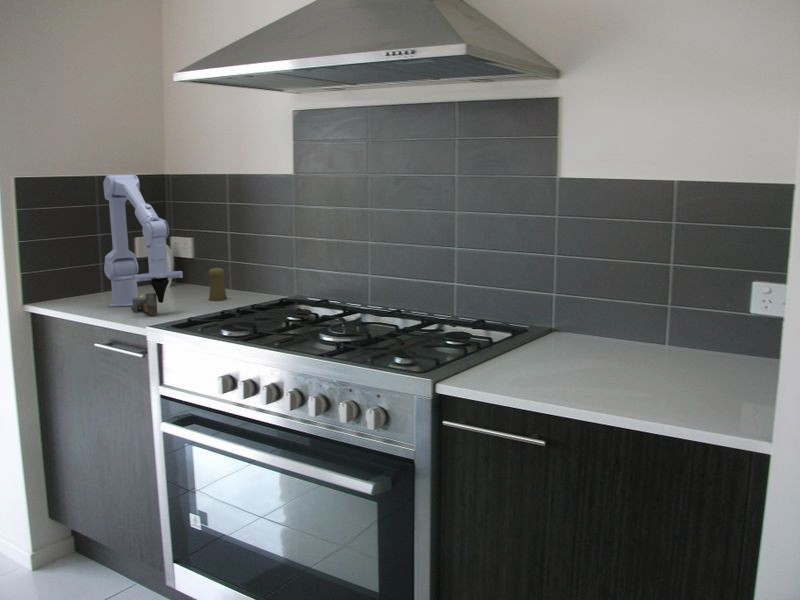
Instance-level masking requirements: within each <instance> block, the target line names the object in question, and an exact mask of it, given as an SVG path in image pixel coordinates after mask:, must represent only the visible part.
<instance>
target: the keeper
mask: <svg viewBox="0 0 800 600" xmlns="http://www.w3.org/2000/svg"><path fill="white" fill-rule="evenodd" d="M132 301H133V310H132V313H133V314H135V313H138V311H137V303H140V302H146V297H145V298H139V297H138V298H132Z"/></svg>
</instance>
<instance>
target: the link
mask: <svg viewBox="0 0 800 600" xmlns="http://www.w3.org/2000/svg"><path fill="white" fill-rule="evenodd" d="M144 296H145V298H146V302H140V303H137V307H138V308H141V309H143V311H144V312H146V313H147V314H149V315H156V314H158V304H157V303H158V299H157V295H156V293H153V292H152V293H150V292H149V293H146V294H145V295H144Z"/></svg>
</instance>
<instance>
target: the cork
mask: <svg viewBox="0 0 800 600" xmlns="http://www.w3.org/2000/svg"><path fill="white" fill-rule="evenodd" d="M208 276H209V278H210V282H209V295H208V296H209V298H208V300H209V301H211V302H223V301H226V300H227V299H228V298H227V293H226V286H225V282H224V281H225V280H224V276H225V270H224V269H223V268H221V267H214V268H210V269H209V270H208Z"/></svg>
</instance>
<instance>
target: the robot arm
mask: <svg viewBox="0 0 800 600" xmlns="http://www.w3.org/2000/svg"><path fill="white" fill-rule="evenodd" d="M140 187H141V186H140V179H139V177H138V176H137V174H135V173H132V174H107V175H106V176H105V177H104V180H103V194H104V199H105V200H107V201H108V203H109V205H108V207H109V208H108V209H109V218H110V229H111V239H112V240H111V243H112V250H111V251H110V252H108V253H107V254H106V255H105V256H104V264H103V265H104V266H103V271H104V274H105V276H106V277H107V278H108V280H110V284H111V297H112V303H110V304H108V307H132V306H133V301H132V298H139V294H138V293H139V291H138V282H139V283H140V282H144V281H149V283H150V285H151V286H152V288H153V290H154V292H155V294H156V299H157V303H164V298H165V295H166V294H165V293H166V290H167V288H168V286H169V283H170V280H169V279H177V278H178V279H182V278H183V277H184V275H183V271H182V270H177V271H176V270H175V271H169V267H168V254H167V253H168V252H167V251H168V250H167V238H168V237H169V235H170V229H169V228H170V227H169V224H168V222H167V220H166V219H162V218H160V217H159V215H158V214H157V213H156V210H155V209H154V207H153V206H152V205H151V204H150V203H146V201H145V199H144V197H143V195H142V192H141V191H140ZM127 201H128V202H129V203H130V204H131V205H132V207H133V208H134V215H135V217H136V219H137V220H138V223H139V224H140V225H141V226H142V236H143V238H144V244H145V246H146V248H147V249H146V250H147V259H148V260H147V262H148V272H146V273H141V274H138V272H139V264H138V260H137V256H136V254H135V253H134V252H132V251H131V250H130V249H129V238H128V226H127V223H128V222H127V212H126V202H127Z"/></svg>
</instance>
